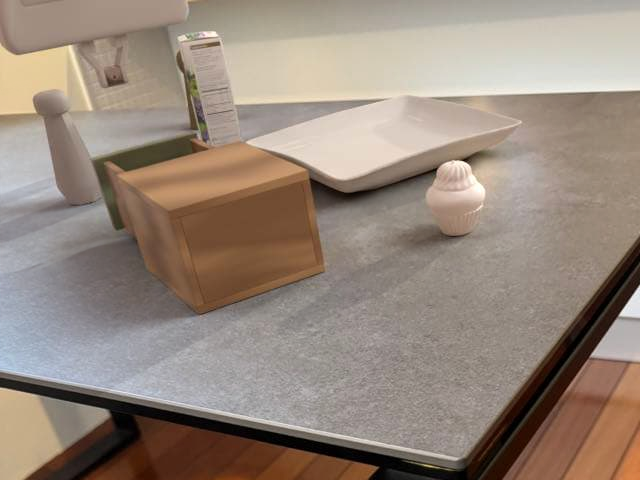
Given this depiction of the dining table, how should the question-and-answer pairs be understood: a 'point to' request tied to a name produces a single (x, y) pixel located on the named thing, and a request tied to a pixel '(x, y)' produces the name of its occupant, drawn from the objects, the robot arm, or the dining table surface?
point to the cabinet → (224, 223)
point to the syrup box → (210, 88)
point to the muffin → (455, 198)
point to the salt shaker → (67, 149)
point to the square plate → (386, 141)
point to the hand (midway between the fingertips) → (114, 85)
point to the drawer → (135, 159)
